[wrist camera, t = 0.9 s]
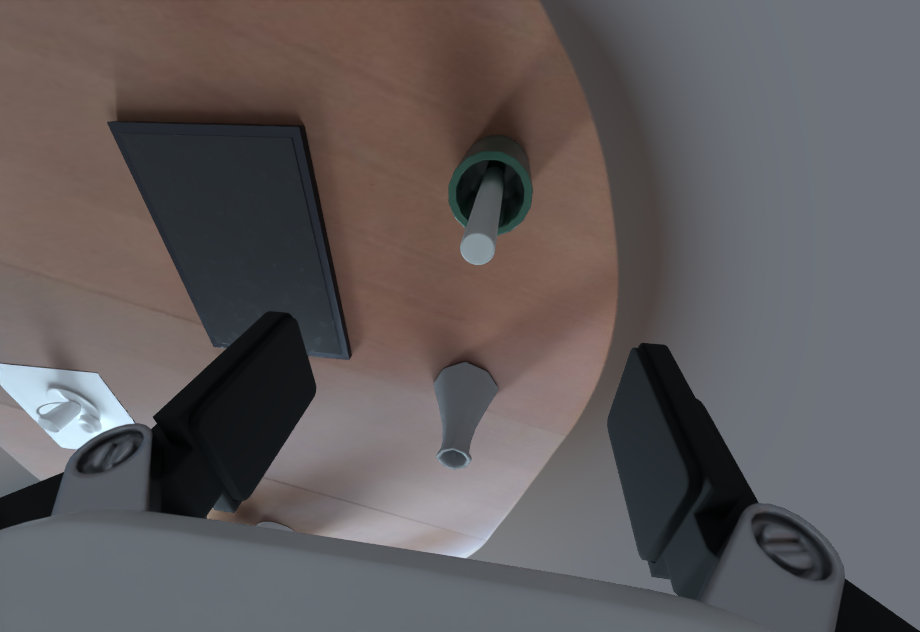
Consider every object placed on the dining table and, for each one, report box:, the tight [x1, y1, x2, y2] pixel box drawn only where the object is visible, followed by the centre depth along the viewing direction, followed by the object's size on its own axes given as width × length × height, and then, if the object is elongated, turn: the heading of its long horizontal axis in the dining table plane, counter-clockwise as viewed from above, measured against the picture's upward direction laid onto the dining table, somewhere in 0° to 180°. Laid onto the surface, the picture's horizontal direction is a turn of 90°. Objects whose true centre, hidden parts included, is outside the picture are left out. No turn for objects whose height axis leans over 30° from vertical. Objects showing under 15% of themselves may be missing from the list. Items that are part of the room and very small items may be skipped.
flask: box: [434, 362, 499, 470], centre depth 39 cm, size 7×7×10 cm
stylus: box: [460, 166, 505, 265], centre depth 23 cm, size 2×2×15 cm
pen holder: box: [449, 135, 533, 236], centre depth 26 cm, size 5×5×7 cm
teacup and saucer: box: [35, 387, 103, 436], centre depth 55 cm, size 9×8×4 cm
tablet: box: [107, 121, 352, 360], centre depth 36 cm, size 24×17×1 cm
